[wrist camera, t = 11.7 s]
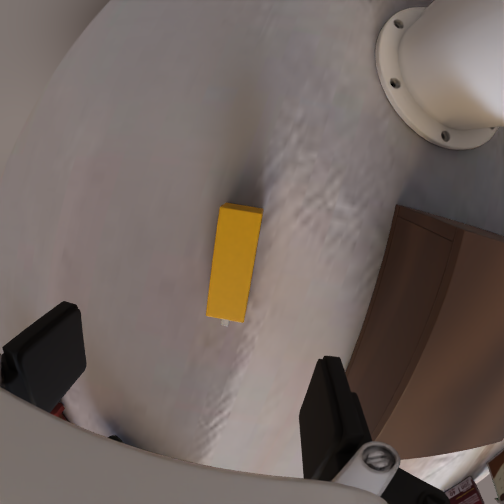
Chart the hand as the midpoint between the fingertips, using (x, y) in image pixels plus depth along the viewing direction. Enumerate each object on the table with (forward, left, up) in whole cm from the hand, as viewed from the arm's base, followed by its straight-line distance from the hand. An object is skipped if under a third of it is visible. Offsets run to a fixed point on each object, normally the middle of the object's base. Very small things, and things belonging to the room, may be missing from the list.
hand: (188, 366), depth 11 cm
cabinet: (+2, +19, -13) cm, 23 cm away
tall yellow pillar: (0, 0, -13) cm, 13 cm away
